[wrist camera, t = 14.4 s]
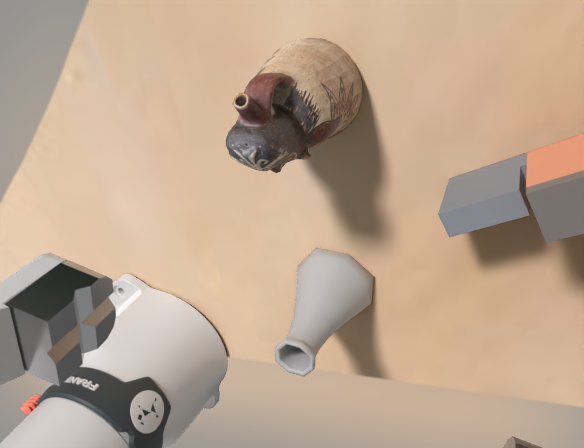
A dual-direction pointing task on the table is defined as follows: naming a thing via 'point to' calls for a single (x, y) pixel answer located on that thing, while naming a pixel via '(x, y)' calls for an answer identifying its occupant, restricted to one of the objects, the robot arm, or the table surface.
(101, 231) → the table surface
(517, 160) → the bracket
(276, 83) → the figurine
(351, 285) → the flask
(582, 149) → the block
